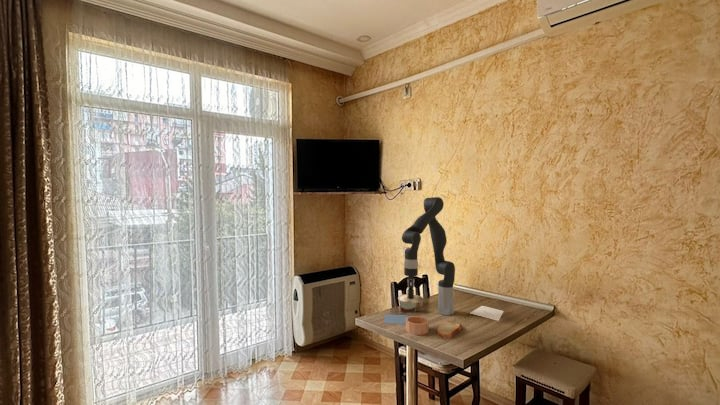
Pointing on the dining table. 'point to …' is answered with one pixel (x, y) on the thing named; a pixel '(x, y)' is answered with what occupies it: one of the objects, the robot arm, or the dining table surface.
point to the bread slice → (448, 329)
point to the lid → (406, 299)
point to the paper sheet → (488, 312)
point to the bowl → (417, 325)
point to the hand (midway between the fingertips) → (410, 297)
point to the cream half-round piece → (407, 307)
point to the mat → (395, 319)
